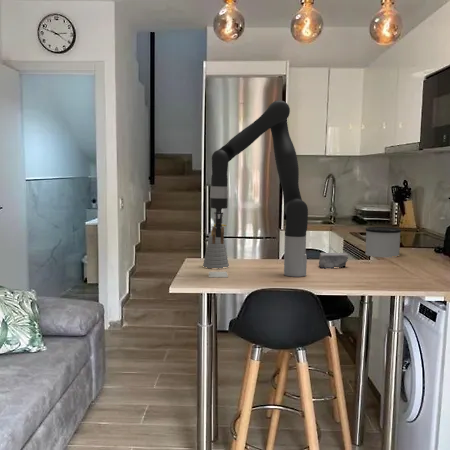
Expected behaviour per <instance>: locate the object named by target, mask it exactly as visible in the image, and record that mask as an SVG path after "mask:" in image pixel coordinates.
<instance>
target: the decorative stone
mask: <svg viewBox="0 0 450 450" xmlns="http://www.w3.org/2000/svg"><path fill="white" fill-rule="evenodd" d="M318 260H319V261H318V266H319V267H321V268H320V269H323V268H325V269H326V268H331V269H335V268H334V267H343V266H345V267H346V264H347V262H348V260H349V254H348V253H344V252H320V253H319V258H318ZM343 268H344V267H343Z"/></svg>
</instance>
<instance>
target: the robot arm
mask: <svg viewBox="0 0 450 450" xmlns="http://www.w3.org/2000/svg"><path fill="white" fill-rule="evenodd" d="M290 109H291V108H290V105H289V104H288V103H287V102H286V101H284V100H274V101H273V102H271V104H270V105H269V106H268V107H267V109H266V110H265V111H264V112H263V113H262V114H261V115H260V116H259V117H258V118H256V120H254V121H253V122H252V123H250V124H249V125H248V126H246V127H245V128H243V129H242V130H241V131H239V132H238V133H236V134H235V135H234V136H233V137H231V138H230V139H229V140H228V142H226V144H224V145H223V146H221V147H220V148H219V149H217V150H215V151H214V152H213V153H212V155H211V178H210V193H209V194H210V195H209V197H210V199H209V208H211V209H215V211H214V212H213V218H214V224H215V228H216V237H219V238H220V237H221V228H222V227H223V226H222V225H223V224H224V223H223V222H224V221H223V219H224V212H222V210H223V209H225V210H226V209H228V207H229V203H228V201H229V198H228V197H229V196H228V195H229V190H228V179H229V178H228V171H229V170H228V169H229V163H230V161H232V159H234V158H235V157H236V156H237V155H239V154H241V153H242V152H244V151H245V150H246V149H247V148H248V147H250V146H251V145H252V144H254V142H255V141H257V140H258V139H259V138H260V137H261V136H262V135H263V134H264V133H266V132H267V131H268V130H270V132H271V137H272V145H273V152H274V160H275V165H276V169H277V174H278V178H279V182H280V185H281V189H282V190H281V191H282V197H283V211H284V214H285V216H286V218H285V229H284V249H283V252H284V254H283V258H284V259H283V274H284V276H286V277H306V276H307V267H308V265H307V263H308V260H307V257H308V255H307V252H306V250H307V249H306V248H307V232H308V231H307V230H308V224H309V223H308V221H309V208H308V207H309V206H308V205H307V203H306V202H305V201H304V200H303V199H302V195H301V192H300V187H299V176H300V171H299V162H298V157H297V151H296V149H295V145H294V144H293V141H292V139H291V138H292V137H291V135H290V133H289V124H288V118H289V116H290V114H291V113H290V112H291V110H290Z"/></svg>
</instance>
